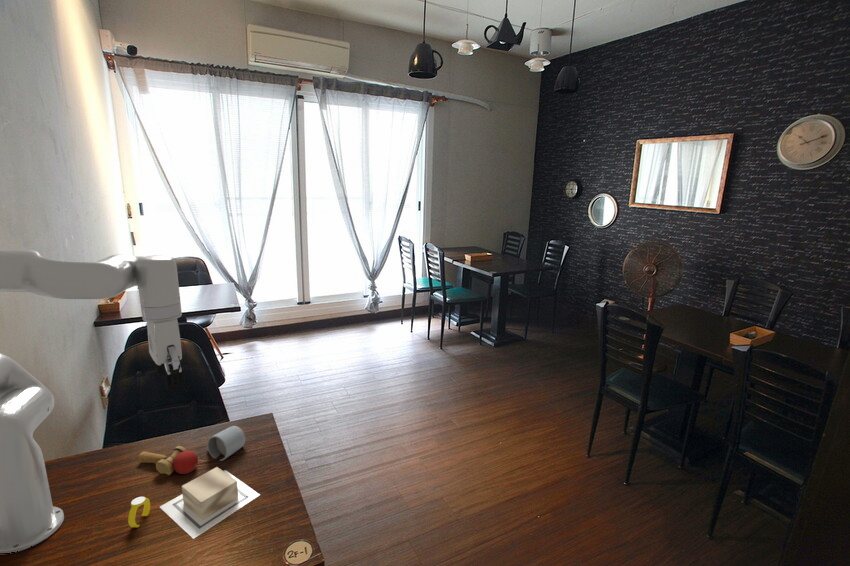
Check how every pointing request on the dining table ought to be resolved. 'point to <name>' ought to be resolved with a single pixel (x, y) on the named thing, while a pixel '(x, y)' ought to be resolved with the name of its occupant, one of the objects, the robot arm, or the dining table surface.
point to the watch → (135, 505)
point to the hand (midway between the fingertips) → (170, 381)
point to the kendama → (172, 461)
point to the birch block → (209, 492)
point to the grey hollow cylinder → (226, 442)
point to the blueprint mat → (198, 526)
